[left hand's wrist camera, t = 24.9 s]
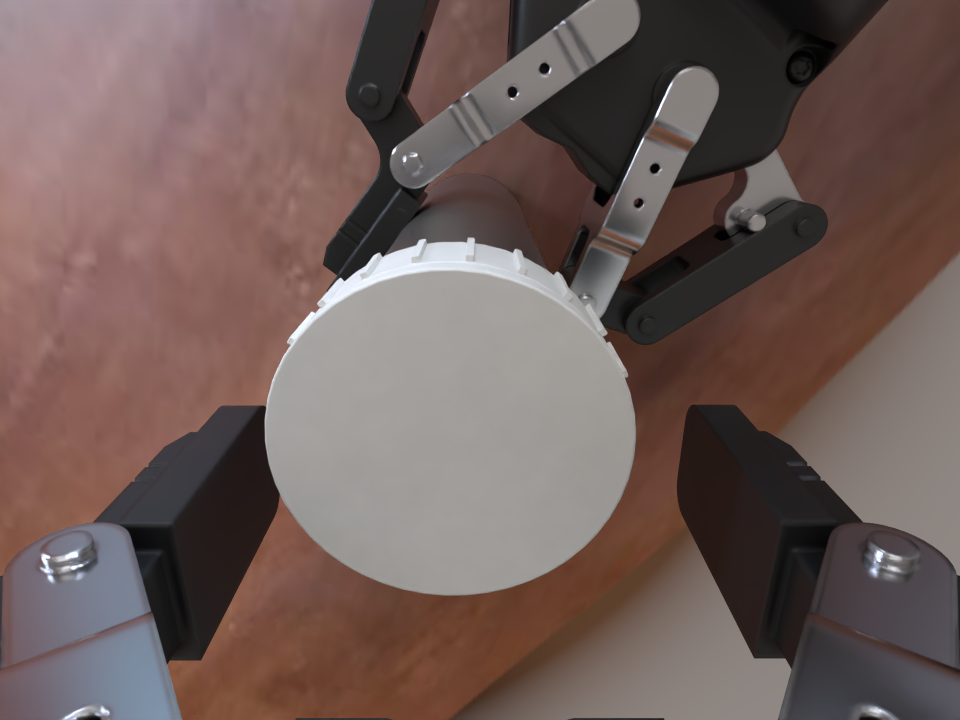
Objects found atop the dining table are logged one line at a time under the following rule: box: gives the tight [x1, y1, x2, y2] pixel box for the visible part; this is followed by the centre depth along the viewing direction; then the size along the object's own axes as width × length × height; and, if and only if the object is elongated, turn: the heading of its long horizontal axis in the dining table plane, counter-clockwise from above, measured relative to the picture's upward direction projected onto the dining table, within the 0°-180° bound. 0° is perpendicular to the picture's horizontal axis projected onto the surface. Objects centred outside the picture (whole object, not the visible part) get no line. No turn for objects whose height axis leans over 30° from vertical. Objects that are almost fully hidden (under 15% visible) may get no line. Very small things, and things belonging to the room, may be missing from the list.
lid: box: [265, 238, 636, 595], centre depth 9 cm, size 5×5×2 cm
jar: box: [385, 174, 547, 270], centre depth 17 cm, size 4×4×16 cm
